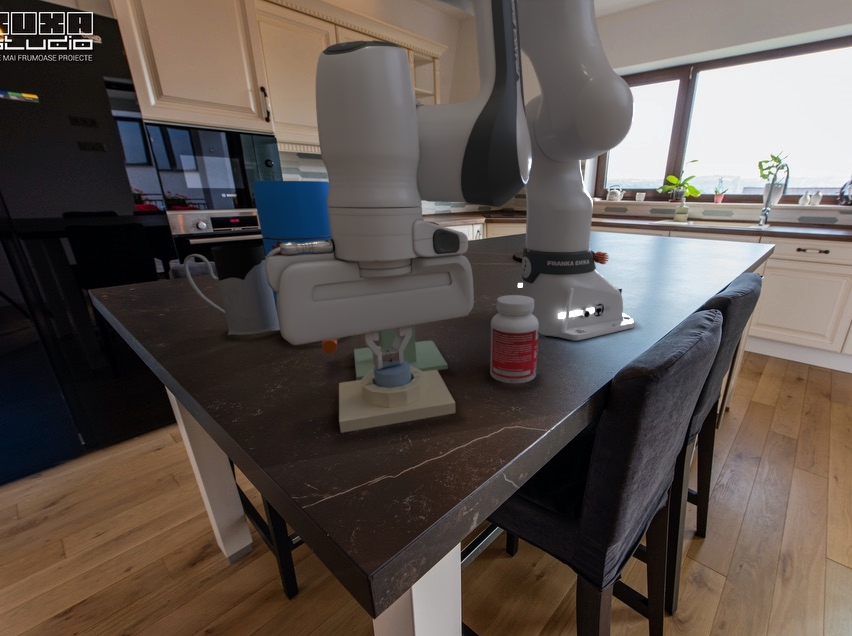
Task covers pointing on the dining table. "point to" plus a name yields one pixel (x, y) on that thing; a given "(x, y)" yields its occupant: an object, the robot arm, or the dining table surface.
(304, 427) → the dining table surface
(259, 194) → the thermos
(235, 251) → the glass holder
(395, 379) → the power button
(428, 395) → the control block
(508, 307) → the pill bottle
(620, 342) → the dining table surface
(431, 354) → the green lever stand
